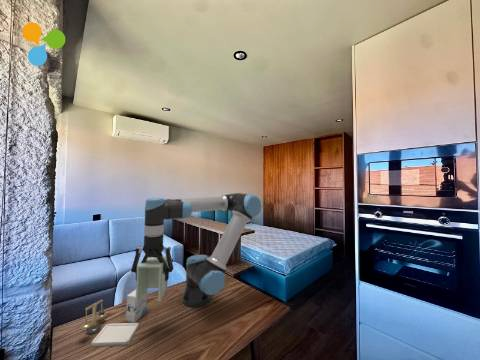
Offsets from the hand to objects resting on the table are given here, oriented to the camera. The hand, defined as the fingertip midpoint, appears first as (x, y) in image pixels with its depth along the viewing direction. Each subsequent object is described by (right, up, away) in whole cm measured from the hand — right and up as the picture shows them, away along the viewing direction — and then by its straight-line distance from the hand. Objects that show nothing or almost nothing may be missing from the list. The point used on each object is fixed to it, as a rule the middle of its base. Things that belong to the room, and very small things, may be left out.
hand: (152, 288), depth 85 cm
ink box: (-12, -19, +10) cm, 25 cm away
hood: (0, -3, +1) cm, 3 cm away
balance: (-25, -18, +1) cm, 31 cm away
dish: (-14, -19, -2) cm, 23 cm away
